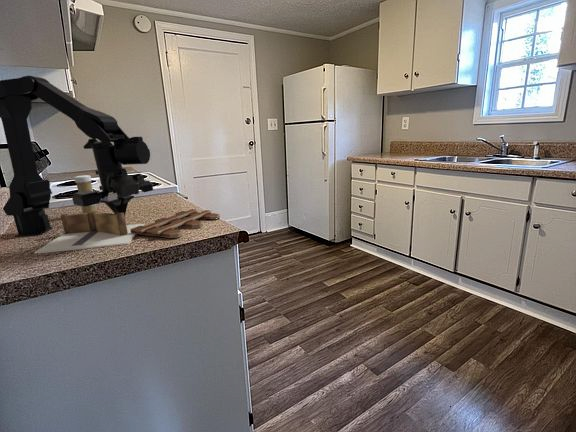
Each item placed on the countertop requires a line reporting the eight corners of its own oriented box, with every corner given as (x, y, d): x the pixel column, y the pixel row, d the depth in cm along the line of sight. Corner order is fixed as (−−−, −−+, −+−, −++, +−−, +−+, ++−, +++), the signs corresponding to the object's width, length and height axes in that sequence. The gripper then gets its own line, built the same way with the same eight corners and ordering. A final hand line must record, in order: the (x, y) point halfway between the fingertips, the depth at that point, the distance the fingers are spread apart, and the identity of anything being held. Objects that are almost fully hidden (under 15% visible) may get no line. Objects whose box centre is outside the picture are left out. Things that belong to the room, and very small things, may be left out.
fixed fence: (63, 234, 84) (58, 216, 82) (67, 231, 86) (62, 213, 85) (99, 231, 85) (95, 212, 84) (102, 228, 88) (99, 210, 86)
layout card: (34, 253, 71) (34, 251, 71) (69, 231, 87) (68, 230, 87) (127, 244, 75) (127, 242, 75) (144, 224, 91) (144, 223, 91)
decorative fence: (127, 234, 81) (173, 240, 76) (126, 228, 81) (172, 233, 75) (184, 213, 102) (223, 216, 97) (184, 208, 101) (223, 211, 96)
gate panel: (96, 231, 85) (92, 211, 83) (103, 229, 86) (99, 209, 85) (123, 235, 80) (119, 214, 79) (129, 233, 82) (125, 212, 80)
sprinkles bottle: (85, 214, 108) (76, 175, 104) (99, 212, 109) (91, 174, 106) (81, 217, 103) (72, 177, 100) (96, 215, 105) (88, 176, 101)
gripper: (86, 173, 68) (103, 238, 72) (160, 161, 83) (170, 216, 87) (63, 171, 74) (80, 232, 78) (136, 160, 89) (146, 212, 93)
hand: (122, 222), depth 84 cm, fingers closed
